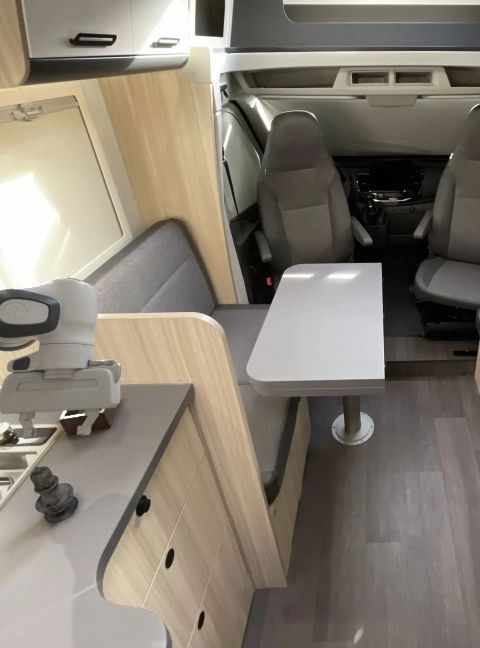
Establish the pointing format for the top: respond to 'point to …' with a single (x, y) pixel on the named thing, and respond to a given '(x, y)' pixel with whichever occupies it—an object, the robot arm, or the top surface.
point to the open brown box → (77, 418)
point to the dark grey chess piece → (53, 495)
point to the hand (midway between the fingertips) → (57, 436)
